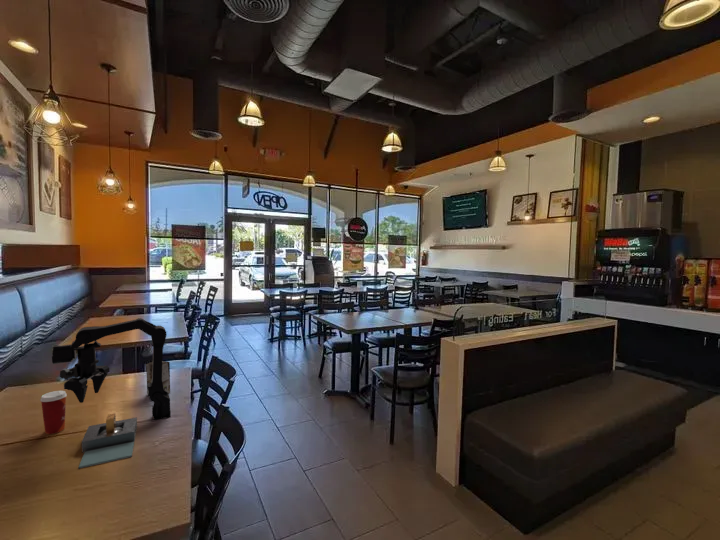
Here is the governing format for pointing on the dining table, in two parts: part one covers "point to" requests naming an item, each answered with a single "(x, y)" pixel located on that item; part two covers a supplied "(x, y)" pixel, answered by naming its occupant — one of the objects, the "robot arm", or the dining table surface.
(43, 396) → the coffee cup
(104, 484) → the dining table surface
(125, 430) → the housing
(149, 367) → the coffee box
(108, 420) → the grey round brown-barred piece
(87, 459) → the mat
